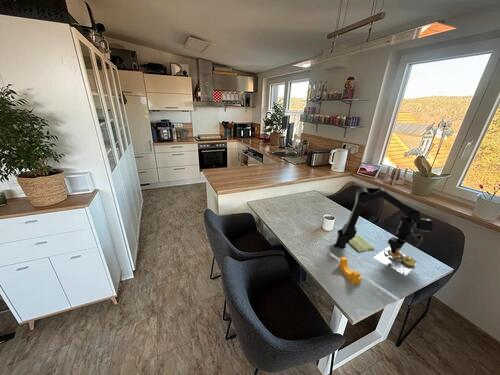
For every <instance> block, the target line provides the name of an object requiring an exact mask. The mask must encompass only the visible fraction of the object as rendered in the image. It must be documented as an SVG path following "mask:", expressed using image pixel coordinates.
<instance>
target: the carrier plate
mask: <svg viewBox="0 0 500 375" xmlns="http://www.w3.org/2000/svg"><path fill="white" fill-rule="evenodd" d="M390 250H391V247H390V245H389V246H387V247H385V248H384V249H383V250H381V251H380V252H379V253H377V255H375V256H374V257H373V258H374V259H376V260H377V261H378V262H381V263H382V264H384V265H385V266H387V267H389V268H390V269H392V270H394V271H395V272H397V273H398V274H401V275H403V276H404V277H407V276H408V275H409V274H410V272H412V270H414V268H415V267H417V265H418V264H419V263H420V262H419V261H418V260H416V259H414V258H413V257H412V256H410V255H406V254H404V253H403V252H402V251H400V252H399V253H401V255H402V257H401V259H394V258H393V257H392V256H390V255H389V251H390Z"/></svg>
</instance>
